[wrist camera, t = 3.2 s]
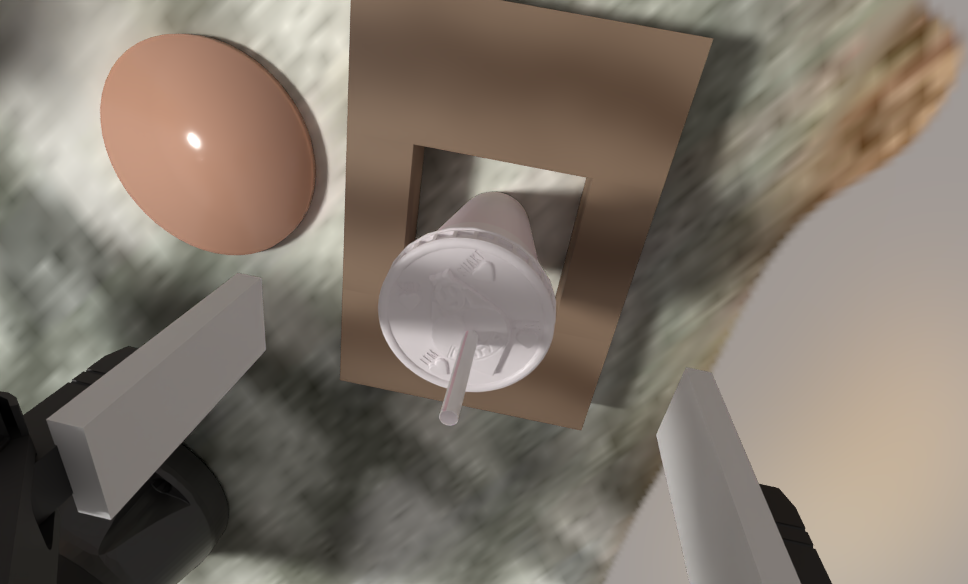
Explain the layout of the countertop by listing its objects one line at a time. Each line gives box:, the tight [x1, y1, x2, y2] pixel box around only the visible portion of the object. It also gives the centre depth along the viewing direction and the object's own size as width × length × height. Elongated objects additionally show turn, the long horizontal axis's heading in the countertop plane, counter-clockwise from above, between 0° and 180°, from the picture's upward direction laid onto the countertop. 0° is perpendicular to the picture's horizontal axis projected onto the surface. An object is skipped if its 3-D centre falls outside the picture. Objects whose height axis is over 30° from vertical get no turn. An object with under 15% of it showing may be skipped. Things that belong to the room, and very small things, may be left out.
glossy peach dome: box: [100, 34, 316, 255], centre depth 26 cm, size 11×11×1 cm
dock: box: [340, 0, 713, 430], centre depth 25 cm, size 20×14×2 cm
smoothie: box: [378, 192, 556, 426], centre depth 20 cm, size 6×6×14 cm
